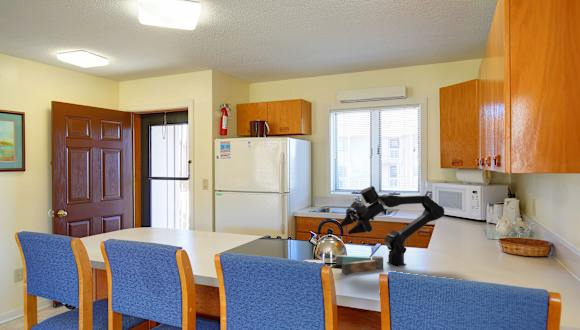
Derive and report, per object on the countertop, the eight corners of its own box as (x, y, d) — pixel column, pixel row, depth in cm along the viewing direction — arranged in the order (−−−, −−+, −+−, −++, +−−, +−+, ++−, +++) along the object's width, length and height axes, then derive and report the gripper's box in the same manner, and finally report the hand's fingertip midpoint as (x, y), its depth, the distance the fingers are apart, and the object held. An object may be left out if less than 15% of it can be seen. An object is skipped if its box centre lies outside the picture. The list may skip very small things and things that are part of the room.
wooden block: (379, 266, 176) (379, 255, 176) (386, 269, 170) (386, 258, 170) (338, 271, 168) (338, 260, 168) (345, 274, 162) (344, 263, 162)
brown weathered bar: (371, 265, 176) (371, 256, 176) (371, 266, 174) (370, 258, 173) (336, 263, 180) (336, 254, 180) (336, 264, 177) (336, 256, 177)
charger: (299, 280, 156) (303, 269, 171) (322, 281, 155) (324, 270, 169) (299, 268, 156) (303, 259, 171) (322, 269, 155) (324, 260, 169)
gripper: (355, 192, 183) (328, 209, 180) (374, 203, 165) (345, 222, 163) (364, 210, 186) (338, 227, 184) (384, 223, 169) (355, 242, 166)
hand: (343, 229), depth 174 cm, fingers open, 9 cm apart
